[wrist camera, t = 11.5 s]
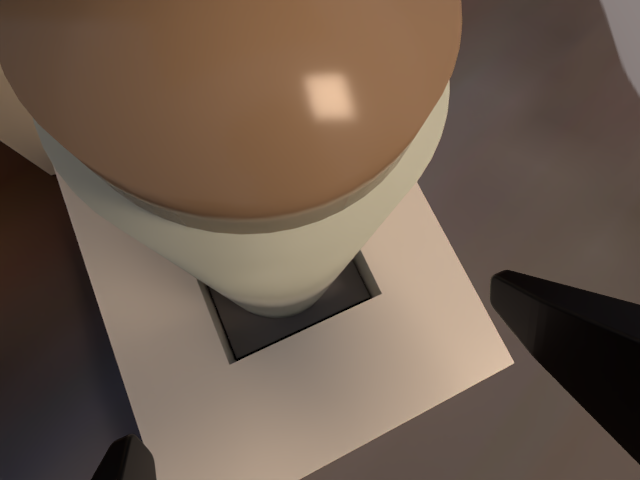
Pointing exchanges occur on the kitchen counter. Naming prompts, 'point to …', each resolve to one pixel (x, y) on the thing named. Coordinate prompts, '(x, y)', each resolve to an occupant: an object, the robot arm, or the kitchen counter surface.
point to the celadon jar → (238, 125)
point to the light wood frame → (279, 343)
